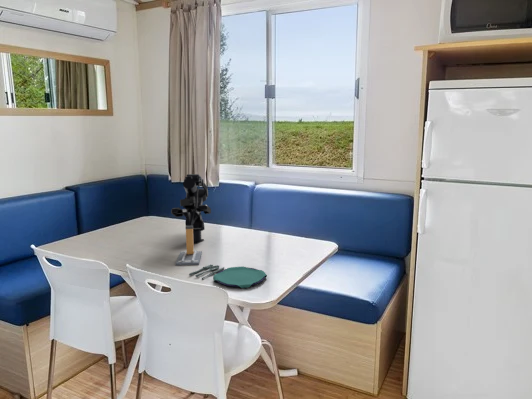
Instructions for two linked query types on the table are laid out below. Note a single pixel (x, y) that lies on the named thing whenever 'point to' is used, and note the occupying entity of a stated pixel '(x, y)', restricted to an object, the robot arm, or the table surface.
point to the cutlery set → (234, 275)
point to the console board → (189, 258)
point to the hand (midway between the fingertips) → (189, 227)
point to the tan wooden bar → (189, 240)
